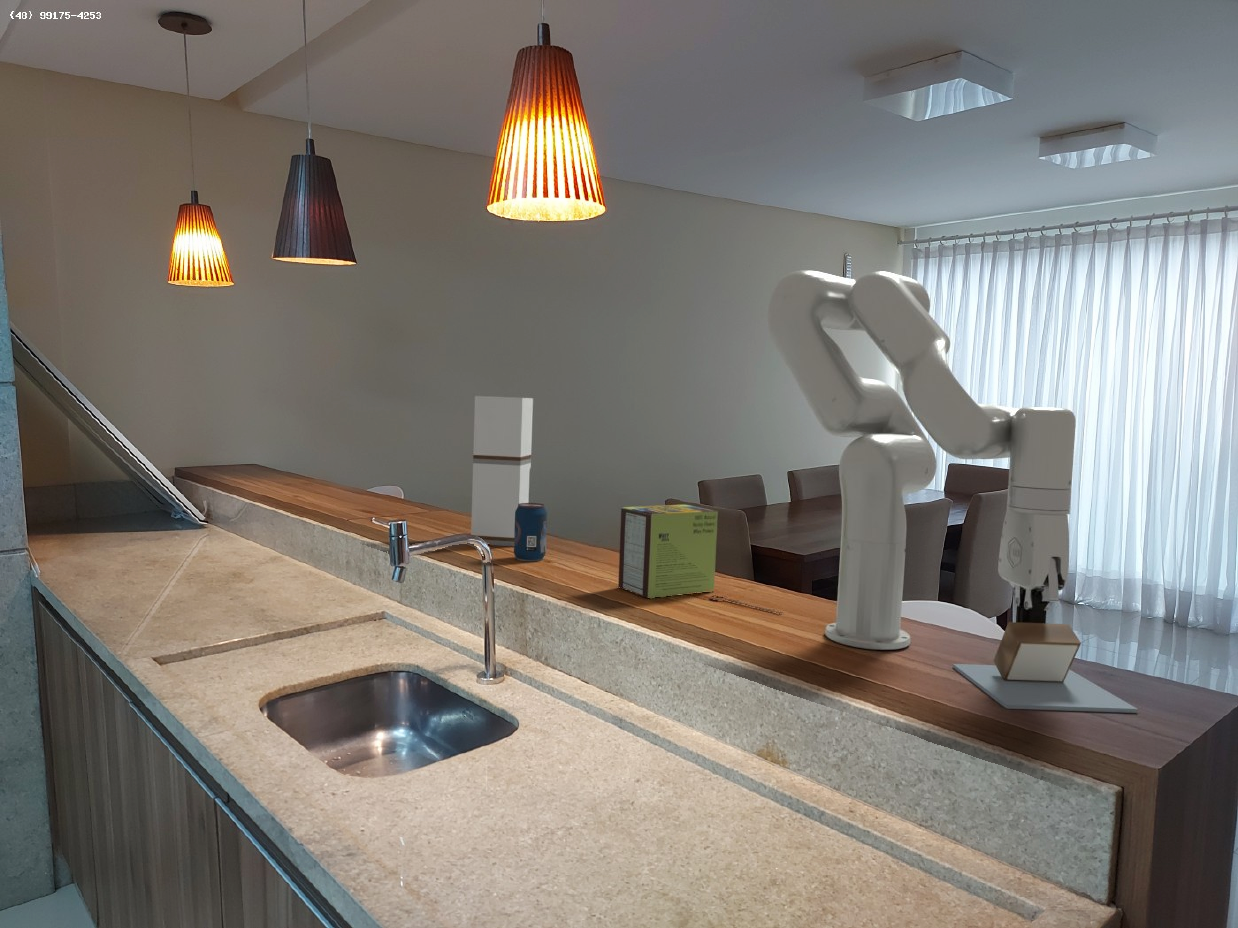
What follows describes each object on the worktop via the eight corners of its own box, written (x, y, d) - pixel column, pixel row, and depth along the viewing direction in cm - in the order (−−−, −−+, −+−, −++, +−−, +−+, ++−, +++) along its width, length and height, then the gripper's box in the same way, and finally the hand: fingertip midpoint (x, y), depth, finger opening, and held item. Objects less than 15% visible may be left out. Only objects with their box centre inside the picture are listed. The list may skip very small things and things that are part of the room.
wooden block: (993, 660, 115) (1008, 622, 112) (1052, 662, 116) (1068, 624, 112) (1003, 681, 112) (1019, 642, 109) (1064, 683, 112) (1081, 644, 109)
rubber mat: (952, 667, 119) (952, 663, 119) (1066, 671, 119) (1066, 667, 119) (1006, 708, 103) (1006, 704, 103) (1137, 712, 103) (1137, 708, 103)
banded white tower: (528, 539, 212) (533, 398, 210) (517, 546, 202) (522, 397, 199) (483, 536, 213) (487, 396, 211) (470, 543, 203) (474, 395, 200)
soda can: (512, 555, 189) (514, 502, 189) (543, 556, 191) (545, 502, 190) (514, 561, 183) (516, 506, 182) (546, 562, 184) (548, 506, 183)
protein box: (715, 592, 161) (719, 510, 160) (647, 599, 153) (651, 513, 152) (682, 581, 170) (685, 503, 169) (616, 587, 162) (619, 506, 160)
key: (793, 615, 148) (725, 598, 159) (793, 610, 148) (726, 593, 159) (773, 617, 144) (705, 599, 155) (774, 612, 144) (706, 594, 155)
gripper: (985, 494, 121) (977, 622, 122) (1039, 506, 106) (1030, 652, 107) (1037, 495, 121) (1029, 624, 122) (1099, 508, 106) (1089, 654, 107)
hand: (1029, 636), depth 114 cm, fingers closed
